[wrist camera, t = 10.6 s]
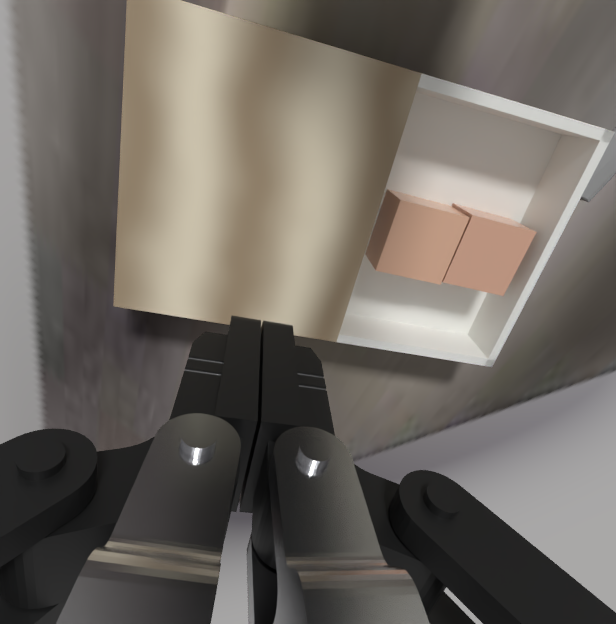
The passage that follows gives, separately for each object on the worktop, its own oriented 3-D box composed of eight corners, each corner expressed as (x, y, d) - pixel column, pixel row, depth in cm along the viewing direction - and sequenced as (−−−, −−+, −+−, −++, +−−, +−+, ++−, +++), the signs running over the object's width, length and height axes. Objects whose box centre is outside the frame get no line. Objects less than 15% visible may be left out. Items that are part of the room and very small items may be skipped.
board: (398, 75, 25) (421, 73, 21) (328, 313, 32) (336, 341, 28) (149, 1, 22) (127, -16, 18) (131, 279, 29) (113, 306, 25)
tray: (568, 126, 27) (615, 131, 23) (467, 338, 34) (491, 366, 30) (398, 75, 25) (421, 73, 21) (328, 313, 32) (336, 341, 28)
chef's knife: (743, 50, 26) (727, 12, 25) (763, 50, 25) (747, 10, 24) (506, 275, 32) (483, 254, 31) (515, 282, 31) (491, 260, 30)
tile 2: (472, 215, 25) (452, 203, 28) (442, 282, 27) (426, 265, 30) (536, 231, 26) (511, 218, 29) (503, 296, 28) (482, 278, 31)
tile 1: (450, 205, 28) (469, 217, 25) (424, 267, 30) (440, 284, 27) (387, 188, 27) (400, 199, 24) (365, 254, 29) (375, 270, 26)
